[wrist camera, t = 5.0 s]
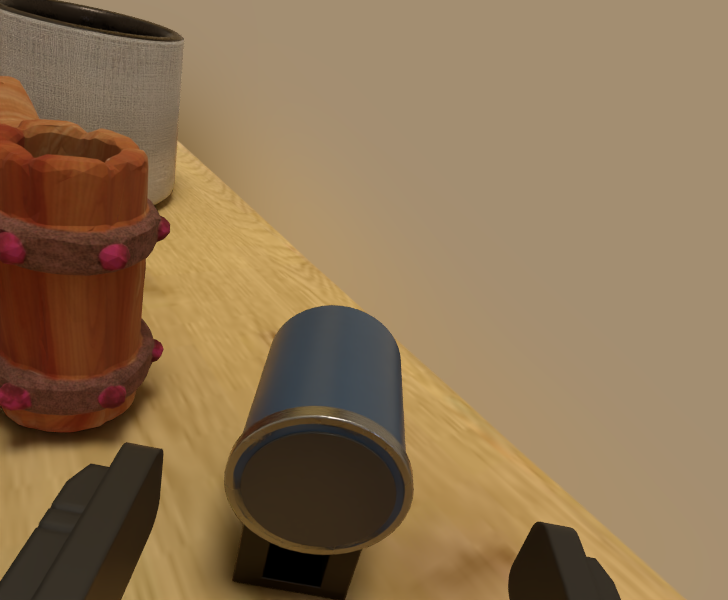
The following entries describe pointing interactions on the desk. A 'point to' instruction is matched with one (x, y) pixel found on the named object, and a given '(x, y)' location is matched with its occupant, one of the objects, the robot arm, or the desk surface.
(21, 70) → the planter
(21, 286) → the mug
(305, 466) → the blue metal can
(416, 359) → the desk surface
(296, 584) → the cradle
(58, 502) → the robot arm
